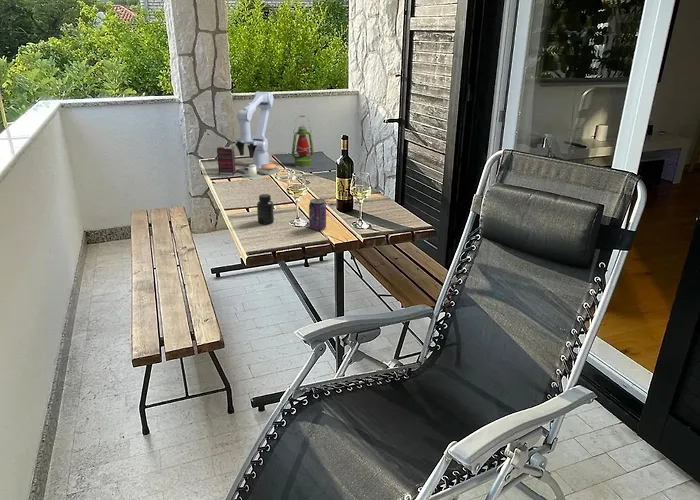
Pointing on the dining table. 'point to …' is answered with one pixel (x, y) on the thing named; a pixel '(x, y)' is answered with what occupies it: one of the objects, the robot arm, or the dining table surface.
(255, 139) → the robot arm
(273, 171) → the button housing
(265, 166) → the tan rounded dome
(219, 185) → the dining table surface
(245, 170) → the dock
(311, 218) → the beverage can
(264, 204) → the supplement bottle
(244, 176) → the mat
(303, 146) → the lantern
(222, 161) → the supplement box
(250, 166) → the cylinder
